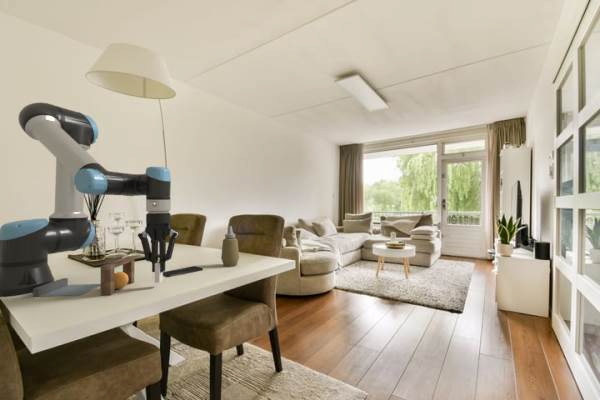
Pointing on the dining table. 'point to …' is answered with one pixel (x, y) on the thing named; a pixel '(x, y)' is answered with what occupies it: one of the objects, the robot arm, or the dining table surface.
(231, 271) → the dining table surface
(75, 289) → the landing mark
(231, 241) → the squeeze bottle
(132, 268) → the bridge
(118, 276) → the ball
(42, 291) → the stopper wall
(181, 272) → the phone
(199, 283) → the dining table surface
